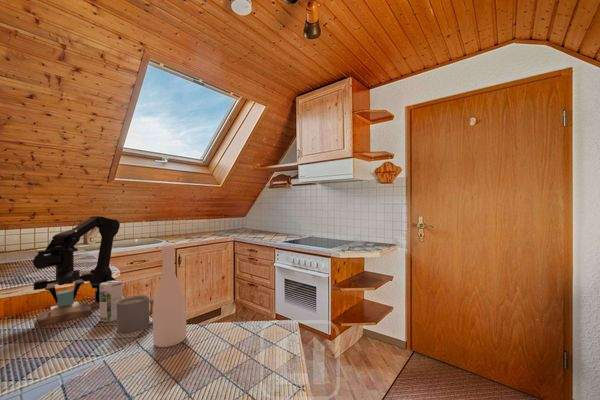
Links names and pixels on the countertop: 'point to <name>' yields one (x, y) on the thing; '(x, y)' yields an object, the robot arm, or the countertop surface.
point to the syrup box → (110, 299)
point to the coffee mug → (133, 313)
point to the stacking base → (63, 317)
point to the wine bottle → (169, 305)
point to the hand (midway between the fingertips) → (65, 301)
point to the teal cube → (65, 298)
